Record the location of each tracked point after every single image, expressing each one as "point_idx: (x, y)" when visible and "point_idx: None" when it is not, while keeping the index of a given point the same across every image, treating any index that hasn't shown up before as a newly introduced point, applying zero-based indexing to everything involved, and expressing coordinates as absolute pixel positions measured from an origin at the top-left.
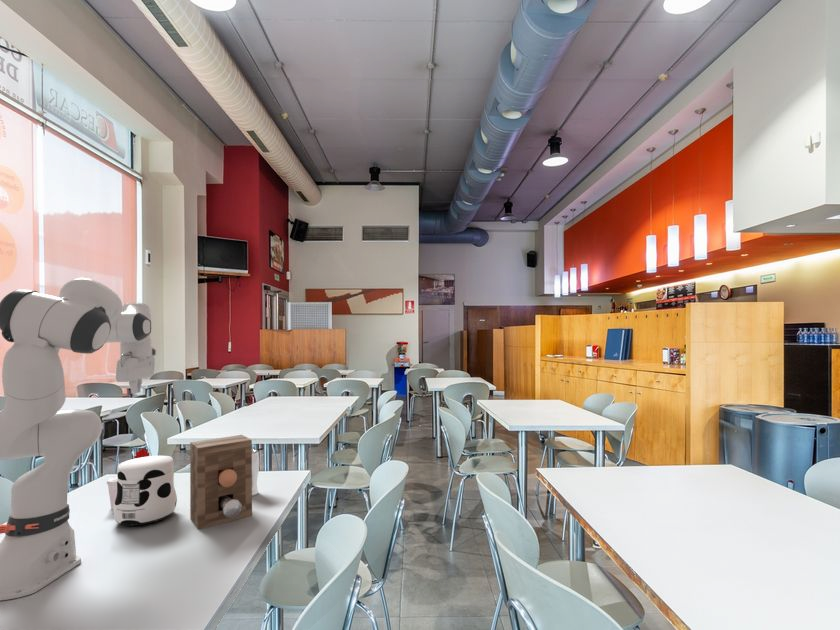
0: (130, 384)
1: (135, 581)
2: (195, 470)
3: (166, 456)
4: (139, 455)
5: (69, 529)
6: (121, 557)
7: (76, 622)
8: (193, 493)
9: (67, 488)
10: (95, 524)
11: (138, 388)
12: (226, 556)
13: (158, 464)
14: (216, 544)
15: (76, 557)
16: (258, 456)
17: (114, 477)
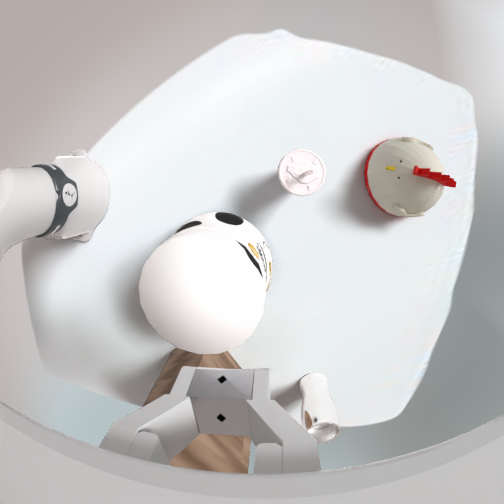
0: (128, 425)
1: (66, 316)
2: (158, 397)
3: (246, 332)
4: (426, 175)
5: (58, 236)
6: (100, 282)
7: (26, 294)
8: (183, 365)
9: (26, 238)
10: (209, 178)
11: (220, 429)
12: (113, 383)
13: (169, 338)
14: (134, 373)
15: (87, 234)
16: (318, 438)
17: (316, 157)
